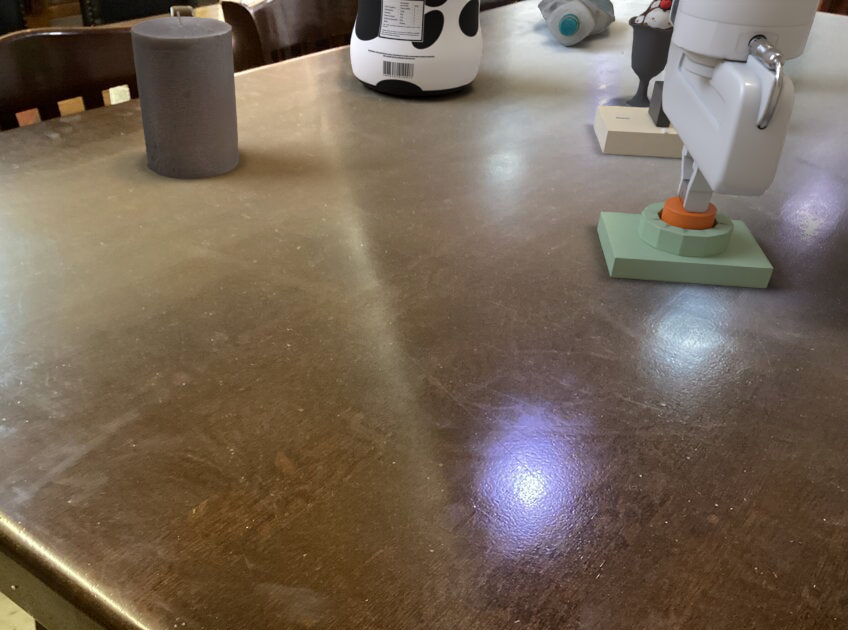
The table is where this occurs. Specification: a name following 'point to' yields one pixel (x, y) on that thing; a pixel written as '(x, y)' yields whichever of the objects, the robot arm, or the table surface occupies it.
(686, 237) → the button block
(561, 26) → the detergent
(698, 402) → the table surface
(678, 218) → the button
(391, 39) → the milk container
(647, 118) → the cream flat block
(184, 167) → the pillar candle
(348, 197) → the table surface
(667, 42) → the sundae
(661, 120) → the black plate
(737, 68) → the robot arm
